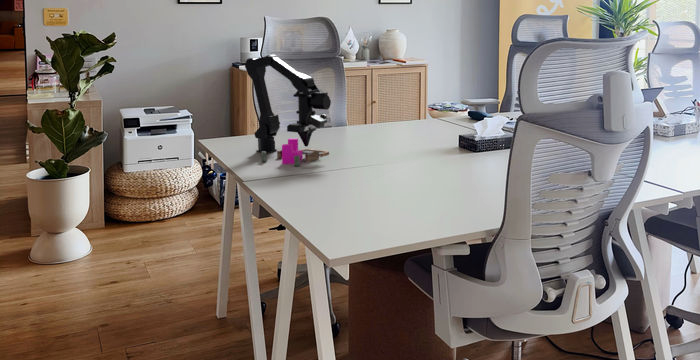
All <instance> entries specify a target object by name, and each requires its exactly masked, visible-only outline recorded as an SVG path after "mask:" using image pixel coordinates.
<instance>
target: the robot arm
mask: <svg viewBox="0 0 700 360" xmlns="http://www.w3.org/2000/svg"><path fill="white" fill-rule="evenodd" d="M267 67H271V68H273V69H274V70H275V71H277V72H278V73H279V74H281V75H282V76H283V77H284V78H286V79H288V80H289V81H290V83H291V85H292V86H293V87H294V88H295V90H296V92H295V93H294V94H293V95H292V96H293V97H294V98H295V97H296V98H297V99H298V100H297V101H298V102H297V103H298V105H297V106H298V107H297V108H298V110H296V114H298V120H296V123H289V124H288V125H287V126H286V132H290V133H297V134H298V136H299V138H300V140H301V141H302V143H303V146H304V147H308V146H309V144H310V141H311V137H312V134H313V133H314V132H315V131H317V129H321V128H324V126H325V124H327V123H328V118H327V115H326V114H325V113H323V114H320V115H319V114H318V115H317V114H316V110H325V111H327V110H329V109H330V107H331V103H332V100H331V99H330V98H331V97H330V96H329V93H328V92H326V91H324V92H321V91H320V90H319V88H318V86H317V85H316V83H315V80H314V78H313V77H312V76H310V75H308V74H305V73H303V72H299V71H297V70H296V69H295V68H293V67H292V66H290V65H289V64H287V63H286V62H285V61H283V60H282V59H280V58H279V56H278V55H276V54H268V55H266V56H262V57H250V58H247V59H246V61H245V62H244V68H245V71H246V73H247V75H248V76H249V77H250V79H251V81H252V84H253V88H254V92H255V96H256V100H257V105H258V109H259V113H260V114H259V119H258V126H259V127H258V128H257V129H256V130H255V132H254V137H255V139H257V144H258V145H257V146H258V148H257V149H256V150H255V152H256V153H257V152H258V153H261V152H263V151H265V152H266V154H270V153H273V152H277V151H278V150H277V149H276V140H275V137H276V136H277V133H278V131H279V130H280V127H281V126H280V125H281V122H280V119H279V114H274V112H273V111H272V105H271V100H270V98H269V93H268V89H267V85H266V79H265V76H266V72H267ZM314 127H315V128H314Z"/></svg>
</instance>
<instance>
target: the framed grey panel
mask: <svg viewBox="0 0 700 360" xmlns="http://www.w3.org/2000/svg"><path fill="white" fill-rule="evenodd" d="M301 150H302V155H303V154H304V156H305V158H304V159H305V161H304V162H305V163H311V162H312V161H316V160H318V159H320V157H324V156H328V155H329V154H330V152H329V151H327V150H320V149H311V148H304V149H301ZM260 155H261V163H267V161H268V160H267V159H268V158H267V153H266V152H265V151H263V152H260ZM276 158H277V159H278V160H279V159H282V149H279V150H277V151H276ZM300 163H301V161H300V157H299V156H294V164H293V165H294V167H295V168H296V167H297V168H299V167H300Z"/></svg>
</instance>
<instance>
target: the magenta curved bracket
mask: <svg viewBox="0 0 700 360" xmlns="http://www.w3.org/2000/svg"><path fill="white" fill-rule="evenodd" d="M281 150H282V158H281V160H282V161H281V163H282V164H283V165H287V164H288V165H294V156H299V157H300V162H301V161H302V160H303V159H302V158H303V156H304V155H303V153H302V150H303V149H299V138H288V139H287V143H283V144H282V145H281Z"/></svg>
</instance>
